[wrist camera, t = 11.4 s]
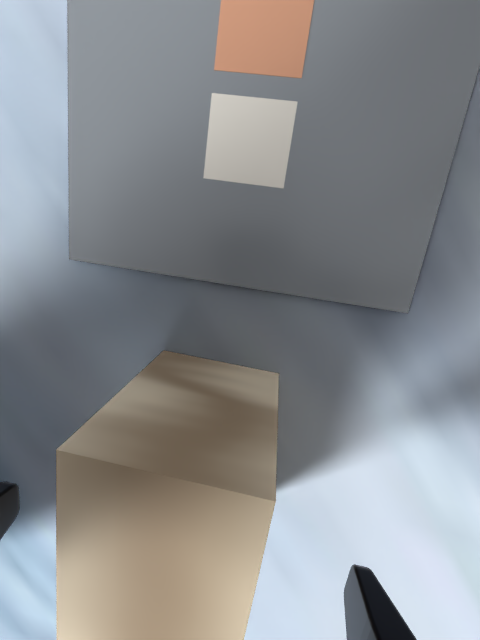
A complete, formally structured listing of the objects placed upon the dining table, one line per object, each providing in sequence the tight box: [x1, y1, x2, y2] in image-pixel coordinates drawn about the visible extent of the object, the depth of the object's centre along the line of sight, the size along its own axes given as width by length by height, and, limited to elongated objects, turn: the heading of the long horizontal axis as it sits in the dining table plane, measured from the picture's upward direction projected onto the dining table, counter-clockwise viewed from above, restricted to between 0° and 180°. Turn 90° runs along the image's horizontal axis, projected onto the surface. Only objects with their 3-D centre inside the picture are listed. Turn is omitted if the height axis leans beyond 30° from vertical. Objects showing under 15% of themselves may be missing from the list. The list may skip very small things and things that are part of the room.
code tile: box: [67, 0, 480, 313], centre depth 9 cm, size 12×12×1 cm
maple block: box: [56, 351, 279, 640], centre depth 10 cm, size 4×6×6 cm
